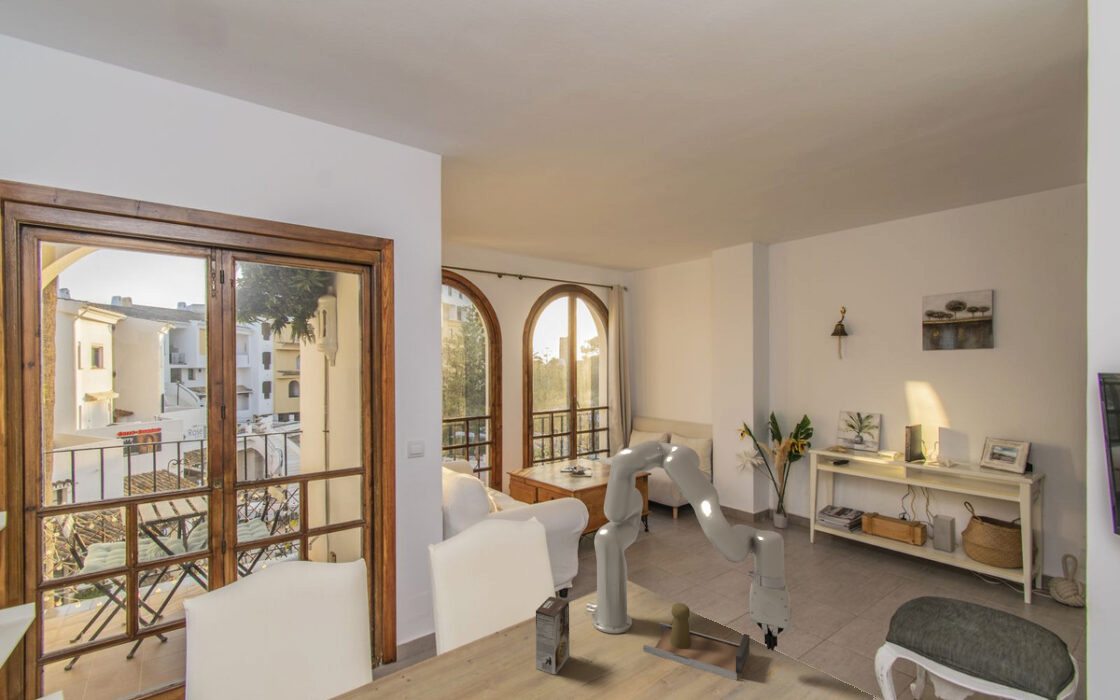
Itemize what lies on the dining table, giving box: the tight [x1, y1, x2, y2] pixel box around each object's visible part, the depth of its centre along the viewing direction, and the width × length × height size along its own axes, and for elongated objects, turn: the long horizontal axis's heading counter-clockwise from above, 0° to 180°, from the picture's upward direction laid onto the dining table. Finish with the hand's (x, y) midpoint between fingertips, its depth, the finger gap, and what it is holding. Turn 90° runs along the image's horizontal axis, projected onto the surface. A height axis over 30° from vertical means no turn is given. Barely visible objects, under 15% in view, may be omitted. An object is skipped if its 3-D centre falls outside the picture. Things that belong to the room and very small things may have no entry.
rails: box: [642, 622, 740, 681], centre depth 146 cm, size 26×15×2 cm, turn 60°
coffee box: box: [535, 596, 570, 675], centre depth 141 cm, size 9×6×16 cm
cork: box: [670, 602, 691, 649], centre depth 148 cm, size 6×6×11 cm
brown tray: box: [654, 628, 751, 679], centre depth 145 cm, size 24×12×6 cm, turn 60°
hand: (771, 647), depth 136 cm, fingers closed
